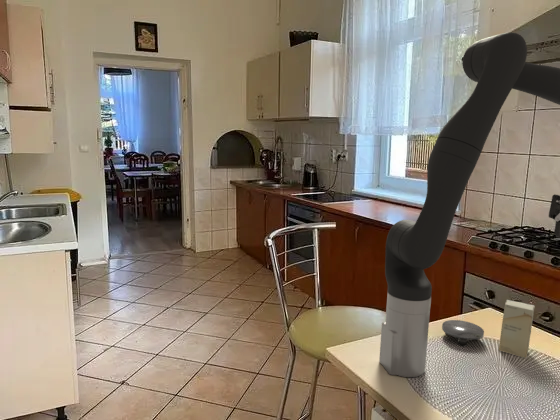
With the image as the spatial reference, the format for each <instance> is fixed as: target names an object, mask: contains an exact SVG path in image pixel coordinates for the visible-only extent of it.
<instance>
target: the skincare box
mask: <svg viewBox="0 0 560 420" xmlns="http://www.w3.org/2000/svg"><path fill="white" fill-rule="evenodd" d="M534 313H535V305H534V304H529V303H524V302H521V301H515V300H510V299H506V301H505V304H504V309H503V316H502V322H501V330H500V339H499V345H498V351H500V352H504V353H507V354H510V355H513V356H518V357H521V358H523V359H524V358H525V359H526V358H527V357H528V353H529V348H530V341H531V334H532V326H533V319H534V315H535V314H534Z"/></svg>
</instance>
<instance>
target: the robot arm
mask: <svg viewBox="0 0 560 420" xmlns="http://www.w3.org/2000/svg"><path fill="white" fill-rule="evenodd" d="M527 57H528V46H527V42H526V40H525V39H524V37H523V36H522V35H521V34H519V33H517V32H504V33H499V34H496V35H492V36H489V37H485V38H482V39H480V40H477V41H474V42H473V43H472V44H470V45H469V46H468V47H467V48H466V49H465V51H464V53H463V56H462V63H461V64H462V69H463V72H464V74H465V75H466V77H468V79H470V80H471V81H472V82H475V83H477V84H476V86H475V87H474V90H473V91H472V92H471V95H470V96H469V98H467V100H466V101H465V103H463V105H462V106H461V107H460V108H459V109H458V110H457V111H456V112H454V113H455V114H453V116H452V117H451V118H450V119H449V120H448V121H447V122H446V124H445V125H444V126H443V128H442V129H441V131H440V132H439V133H438V136H437V138H436V141H435V143H434V145H433V148H432V149H431V152H430V155H429V157H428V161H427V170H426V171H427V172H426V175H427V176H426V177H427V178H426V181H427V183H426V187H427V188H426V196H425V201H424V203H423V206H422V208H421V210H420V213H419V215H418V216H417V219H416V221H415V220H413V219H401V220H399V221H397V222H396V223H394V224H393V225H392V226H391V228H390V229H389V231H388V234H387V237H386V241H385V256H384V257H385V258H384V261H385V262H384V277H385V280H386V283H387V297H386V308H385V310H386V311H385V321H383V322H382V323H381V327H380V328H381V329H380V332H381V333H380V334H381V335H380V344H379V360H378V361H379V363H380V364H381V365H382V367H383V368H384V369H385V370H386V372H387V373H388V374H389V375H390V376H391V375H393V376H394V375H395V376H399V377H404V378H416V377H420V376H422V375H423V374H425V371H426V364H427V352H428V340H429V339H428V338H429V327H430V314H431V304H432V292H433V291H432V289H433V288H432V287H433V286H432V283H431V281H430V280H429V279H428V277H427V275H426V273H425V270H426V269H429V268H430V267H433V265H435V264H436V263H437V262H438V261H439V259H440V257H441V255H442V254H443V252H444V248H445V247H446V246H445V245H446V243H447V239H448V237H449V233H450V230H451V227H452V224H453V220H454V218H455V215H456V212H457V209H458V207H459V205H460V202H461V200H462V197H463V194H464V192H465V191H466V187H467V186H468V185H467V184H468V183H469V180H470V178H471V176H472V174H473V172H474V170H475V168H476V165H477V163H478V162H479V159H480V157H481V153H482V152H483V149H484V146H485V144H486V141H487V139H488V137H489V134H490V132H491V130H492V128H493V126H494V125H495V122H496V120H497V118H498V116H499V114H500V112H501V110H502V107H503V106H504V103H506V100H507V98H508V96H509V95H510V92H511V91H512V90H517V91H519V92H523V93H526V94H530V95H532V96H535V97H538V98H540V99H543V100H546V101H548V102H552V103H554V104H556V105H559V106H560V67H557V66H553V65H551V66H550V65H546V64H537V63H533V62H532V63H531V62H528V61H527ZM548 218H549V219H553V220H554V221H555V224H554V235H555V237H556V238H560V194H555V193H554V194H553V195H552V197H551V202H550V207H549V212H548Z"/></svg>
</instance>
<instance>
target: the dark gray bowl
mask: <svg viewBox="0 0 560 420" xmlns="http://www.w3.org/2000/svg"><path fill="white" fill-rule="evenodd" d="M441 328H442V329H441V330H442V331H443V332H444V334H445V335H446V336H450V337H453V338H456V339H458V342H457V344H458V345H459V346H461V347H466V346H467V344H468V341H478V340H481V339H483V338H484V336H485V335H484V334H485V331H484V330H485V329H483V328H482V327H481V326H480V325H478V324H475V323H473V322H470V321H465V320H458V319H449V320H446V321H443V322H442V325H441Z"/></svg>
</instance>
